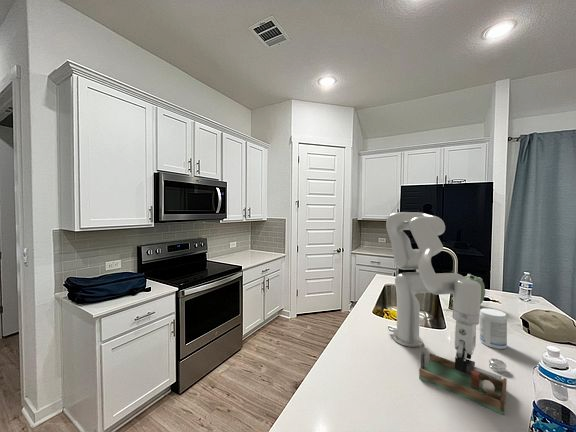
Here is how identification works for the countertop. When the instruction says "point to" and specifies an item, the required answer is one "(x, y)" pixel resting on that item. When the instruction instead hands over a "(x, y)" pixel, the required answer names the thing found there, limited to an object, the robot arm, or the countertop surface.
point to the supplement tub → (493, 328)
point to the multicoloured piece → (478, 374)
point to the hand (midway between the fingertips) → (463, 363)
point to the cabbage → (479, 283)
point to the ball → (487, 385)
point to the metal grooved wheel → (497, 365)
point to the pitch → (462, 383)
